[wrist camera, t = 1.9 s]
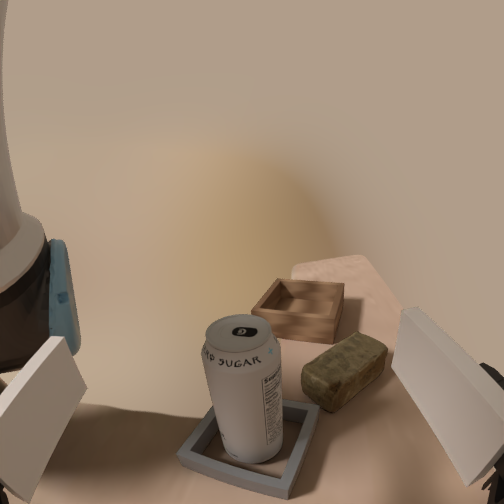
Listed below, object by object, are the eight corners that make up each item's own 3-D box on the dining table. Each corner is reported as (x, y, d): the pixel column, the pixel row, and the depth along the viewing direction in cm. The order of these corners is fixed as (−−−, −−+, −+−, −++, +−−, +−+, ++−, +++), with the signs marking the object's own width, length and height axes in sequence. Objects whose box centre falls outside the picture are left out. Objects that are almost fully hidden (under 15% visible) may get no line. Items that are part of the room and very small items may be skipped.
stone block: (297, 395, 32) (297, 365, 31) (354, 354, 39) (357, 326, 37) (331, 419, 28) (336, 389, 26) (386, 370, 34) (392, 341, 33)
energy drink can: (234, 421, 29) (214, 308, 24) (287, 428, 27) (285, 312, 23) (217, 461, 23) (183, 349, 19) (276, 471, 22) (270, 359, 17)
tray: (182, 465, 23) (175, 453, 22) (229, 400, 32) (226, 386, 31) (287, 500, 18) (287, 490, 18) (318, 419, 28) (319, 405, 27)
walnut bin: (253, 334, 46) (251, 310, 45) (278, 299, 58) (277, 278, 56) (332, 344, 41) (334, 319, 40) (343, 304, 53) (344, 283, 51)
